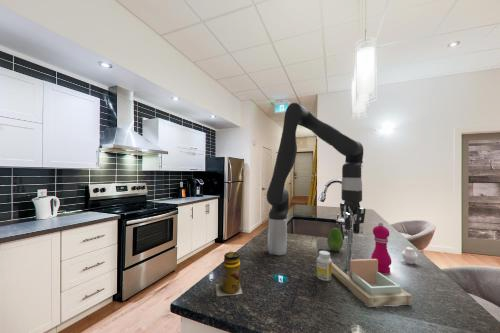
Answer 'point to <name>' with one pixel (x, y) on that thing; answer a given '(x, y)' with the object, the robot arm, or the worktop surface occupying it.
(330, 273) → the supplement bottle
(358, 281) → the drawer
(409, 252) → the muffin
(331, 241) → the avocado
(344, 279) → the bay
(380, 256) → the pepper mill
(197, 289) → the worktop surface
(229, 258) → the condiment
